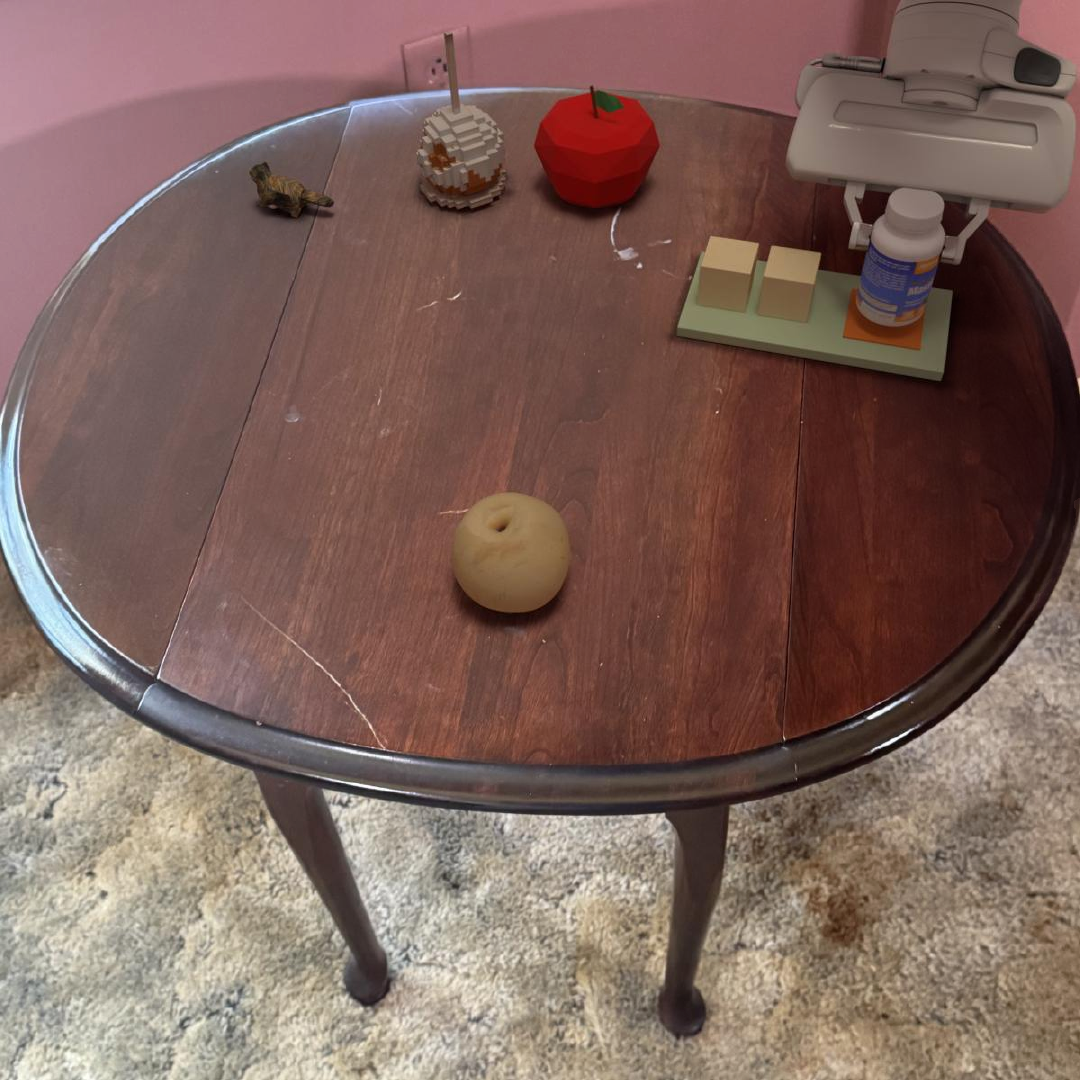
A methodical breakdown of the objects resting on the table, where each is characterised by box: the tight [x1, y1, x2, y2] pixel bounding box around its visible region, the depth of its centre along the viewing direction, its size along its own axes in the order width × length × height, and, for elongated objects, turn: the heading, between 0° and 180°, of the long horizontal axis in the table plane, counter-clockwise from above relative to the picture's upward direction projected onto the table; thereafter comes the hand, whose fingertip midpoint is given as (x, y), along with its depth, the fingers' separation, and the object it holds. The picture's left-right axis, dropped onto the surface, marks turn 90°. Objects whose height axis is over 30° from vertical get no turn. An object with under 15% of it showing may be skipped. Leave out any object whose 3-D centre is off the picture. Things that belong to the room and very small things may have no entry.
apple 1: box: [450, 491, 571, 613], centre depth 74 cm, size 8×8×8 cm
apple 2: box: [533, 84, 661, 210], centre depth 100 cm, size 11×11×10 cm
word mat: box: [676, 235, 954, 382], centre depth 90 cm, size 21×10×5 cm, turn 73°
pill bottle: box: [856, 187, 946, 327], centre depth 85 cm, size 5×5×10 cm
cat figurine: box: [249, 161, 335, 219], centre depth 102 cm, size 3×8×4 cm, turn 74°
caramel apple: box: [415, 30, 507, 210], centre depth 98 cm, size 8×8×15 cm
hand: (903, 256), depth 84 cm, fingers closed on pill bottle, 5 cm apart
